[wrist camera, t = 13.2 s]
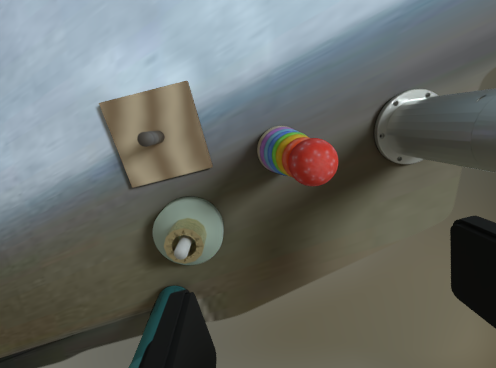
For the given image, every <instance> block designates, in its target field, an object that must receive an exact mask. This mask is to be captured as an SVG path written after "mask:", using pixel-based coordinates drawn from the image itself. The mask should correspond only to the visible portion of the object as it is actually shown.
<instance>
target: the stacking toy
mask: <svg viewBox="0 0 496 368" xmlns="http://www.w3.org/2000/svg"><path fill="white" fill-rule="evenodd" d="M257 154H258V158H259V160H260V162H261V163H262V165H263V166H264V167H265V168H266V169H268V170H270V171H272V172H275V173H278V174H281V175H285V176H290V177H293V178H295V179H296V180H297V181H298V182H299V183H301V184H304V185H306V186H319V185H322V184H325V183H326V182H328V181H329V180H330V179H331V178H332V177H333V176H334V174H335V173H336V171H337V168H338V156H337V153H336V151H335V149H334V148H333V146H332V145H331V144H329V143H328V142H326V141H325V140H322V139H318V138H309V137H307V136H306V135H304V134H302V133H300V132H298V131H296V130H294V129H292V128H290V127H287V126H276V127H273V128H270V129H269V130H267V131H266V132H265V133H264V134H263V135H262V137H261V138H260V140H259V143H258V147H257Z"/></svg>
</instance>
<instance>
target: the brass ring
mask: <svg viewBox="0 0 496 368" xmlns="http://www.w3.org/2000/svg"><path fill="white" fill-rule="evenodd" d="M181 235H186V236H190V237H191V238H192V239H194V240H195V242H196V243H194V244H191V246H190V249H189V252H188V255H187V257H186V258H185V259H182V260H180V259H177V258H176V257H175V256H174V251H175V249H176V247H177V244H178V242H179V238H178V236H181ZM206 236H207V233H206V230H205V227H204V225H202V224H201V223H200V222H199V221H198V220H195V219H191V218H185V219H181V220H178V221H177V222H176V223H175V224H174V225H173V226H172V228H171V229H170V231H169V233H168V235H167V236H166V239H165V243H164V249H165V251H166V254H167V256H168V257H170V258H171V259H172V260H173V261H175V262H179V263H183V264H186V263H190V262H194V261H196V260H197V259H198V258H199V257H200V256H201V255H202V252H203V249H204V245H205V240H206Z"/></svg>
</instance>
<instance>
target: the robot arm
mask: <svg viewBox="0 0 496 368" xmlns="http://www.w3.org/2000/svg"><path fill="white" fill-rule="evenodd" d="M374 133H375V142H376V145H377V147H378V149H379V151H380V152H381V154H382V155H383V156H384V157H385V158H387V159H388V160H390V161H392V162H395V163H399V164H413V163H417V162H419V161H422V160H424V159H426V160H431V161H437V162H442V163H447V164H453V165H458V166H463V167H469V168H474V169H479V170H484V171H490V172H496V88H495V89H488V90H481V91H473V92H465V93H457V94H450V95H442V96H438V95H437V94H435V93H434V92H432V91H429V90H426V89H413V90H408V91H404V92H402V93H400V94H398V95H396V96H395V97H393V98H392V99H391V100H390V101H389V102H388V103H387V104H386V105H385V106H384V107H383V109H382V110H381V112H380V114H379V116H378V118H377V121H376V124H375V131H374ZM450 231H451V232H450V233H451V288H452V292H453V293H454V295H455V296H456V297H457V298H458V299H459V300H460V301H461V302H463V303H464V304H465V305H466V306H468V307H469V308H470V309H471V310H473V311H474V312H475V313H477V314H478V315H479V316H480V317H482V318H483V319H484V320H486V321H487V322H488V323H489V324H491V325H492V326H493V327H494V328H496V223H494V222H492V221H489V220H486V219H484V218H481V217H478V216H470V217H467V218H462V219H459V220H456V221H455V222H454V223H453V226H452V227H451V230H450ZM138 368H216V352H215V347H214V345H213V342H212V339H211V336H210V334H209V331H208V329H207V326H206V323H205V320H204V318H203V315H202V312H201V310H200V307H199V304H198V302H197V299H196V296H195V294H194V293H193V292H191V293H189V291H188V290H187V289H185V290H181V291H177V292H174V293H171V294H170V295H169V297H168V300H167V302H166V305H165V308H164V311H163V313H162V316H161V319H160V321H159V324H158V327H157V329H156V332H155V335H154V337H153V340H152V341H151V342H150V343H149V344H148V345H147V347H146V349H145V352H144V354H143V357H142V359H141V362H140V365H139V367H138Z"/></svg>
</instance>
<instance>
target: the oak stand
mask: <svg viewBox="0 0 496 368" xmlns="http://www.w3.org/2000/svg"><path fill="white" fill-rule="evenodd" d="M99 105H100V107H101V110H102V113H103V115H104V118H105V120H106V123H107V125H108V128H109V130H110V133H111V135H112V138H113V140H114V143H115V145H116V148H117V150H118V153H119V155H120V158H121V160H122V163H123V165H124V168H125V170H126V173H127V175H128V178H129V180H130V183H131V185H132V188H134V187H137V186H141V185H145V184H149V183H153V182H157V181H161V180H165V179H169V178H173V177H177V176H180V175H184V174H188V173H192V172H196V171H200V170H204V169H208V168H212V167H213V165H212V162H211V158H210V155H209V152H208V148H207V145H206V141H205V138H204V135H203V131H202V128H201V124H200V121H199V117H198V114H197V111H196V107H195V104H194V100H193V97H192V94H191V90H190V87H189V83H188V81H184V82H180V83H176V84H172V85H168V86H164V87H160V88H156V89H152V90H148V91H144V92H141V93H137V94H133V95H129V96H125V97H121V98H117V99H113V100H109V101H105V102H101V103H99Z"/></svg>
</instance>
